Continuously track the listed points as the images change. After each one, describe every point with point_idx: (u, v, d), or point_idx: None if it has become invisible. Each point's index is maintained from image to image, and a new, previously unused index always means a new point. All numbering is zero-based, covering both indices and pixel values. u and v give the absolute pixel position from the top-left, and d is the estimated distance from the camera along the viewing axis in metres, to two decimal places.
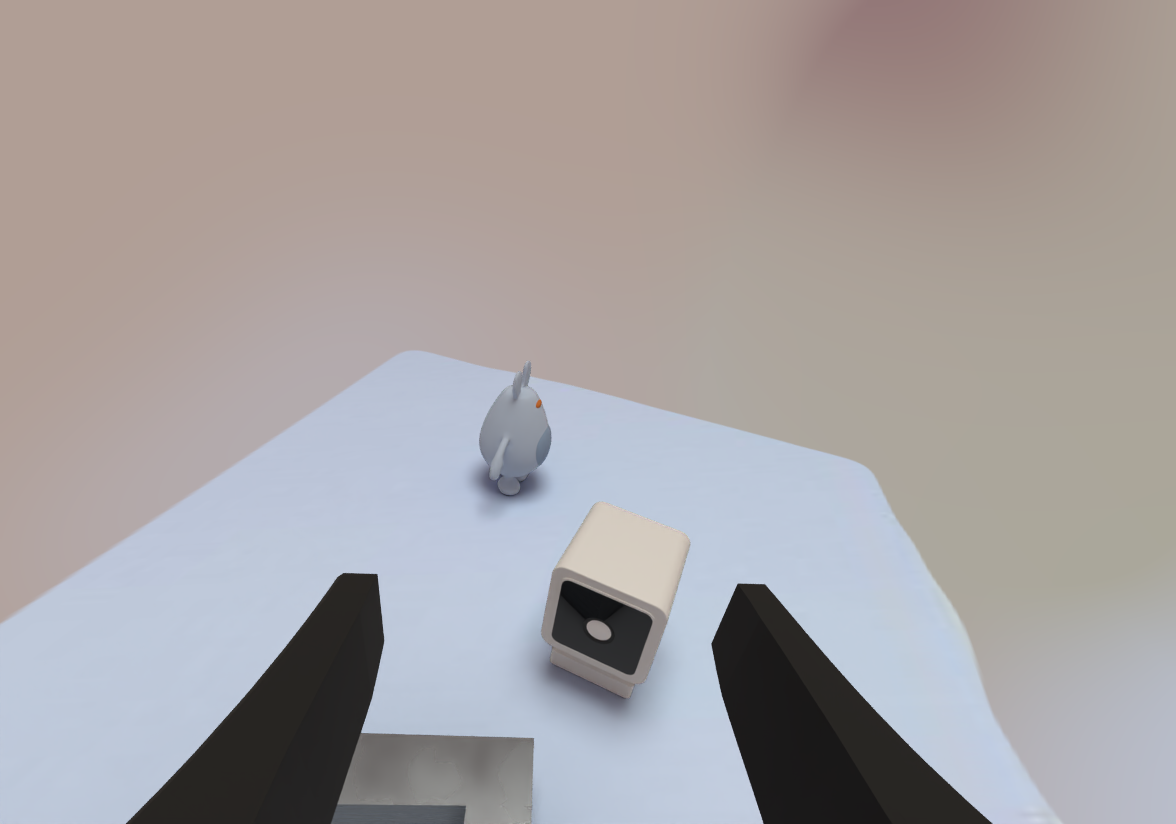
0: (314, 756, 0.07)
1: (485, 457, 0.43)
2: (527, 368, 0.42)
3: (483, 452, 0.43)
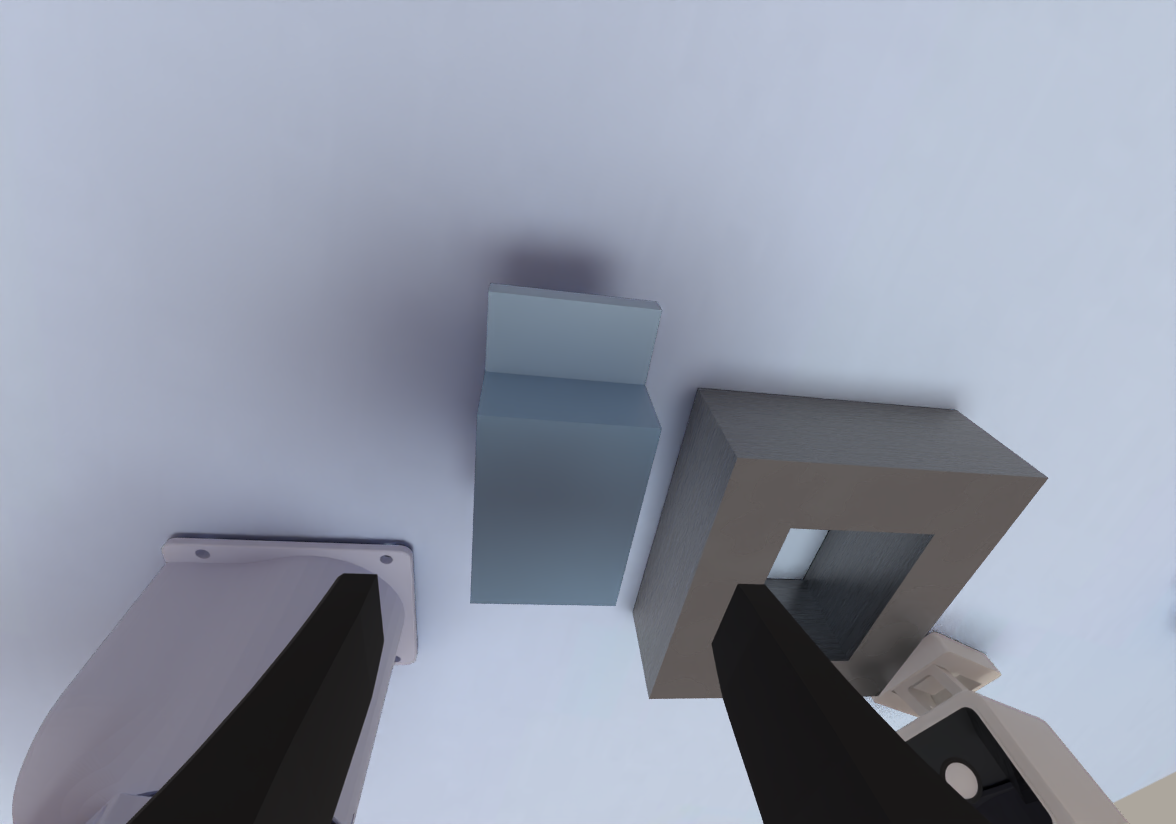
0: (314, 756, 0.07)
1: None
2: None
3: None
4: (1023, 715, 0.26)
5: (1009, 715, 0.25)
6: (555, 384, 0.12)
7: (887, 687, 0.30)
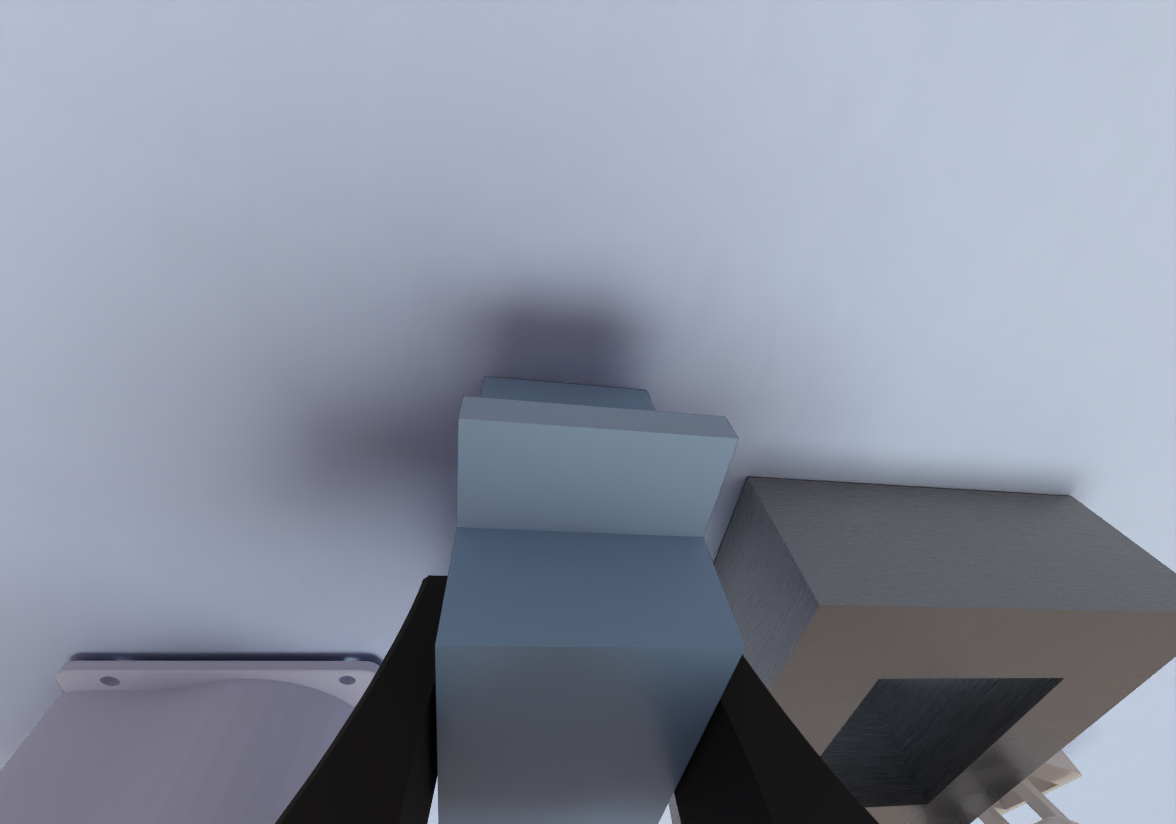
0: (425, 754, 0.07)
1: None
2: None
3: None
4: None
5: None
6: (567, 549, 0.08)
7: None
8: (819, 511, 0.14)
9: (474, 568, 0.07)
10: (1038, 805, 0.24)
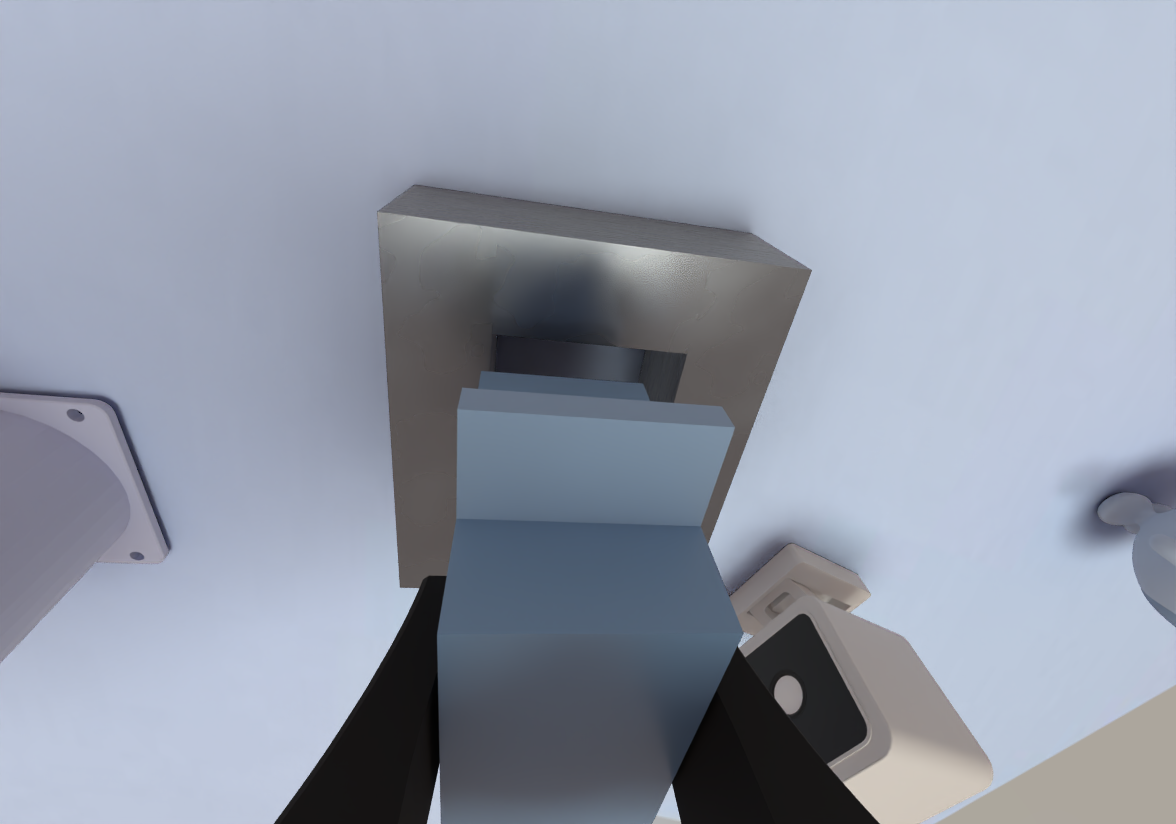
0: (425, 754, 0.07)
1: None
2: None
3: None
4: (873, 626, 0.22)
5: (850, 622, 0.21)
6: (566, 539, 0.08)
7: (742, 608, 0.26)
8: (461, 199, 0.14)
9: (474, 558, 0.07)
10: None
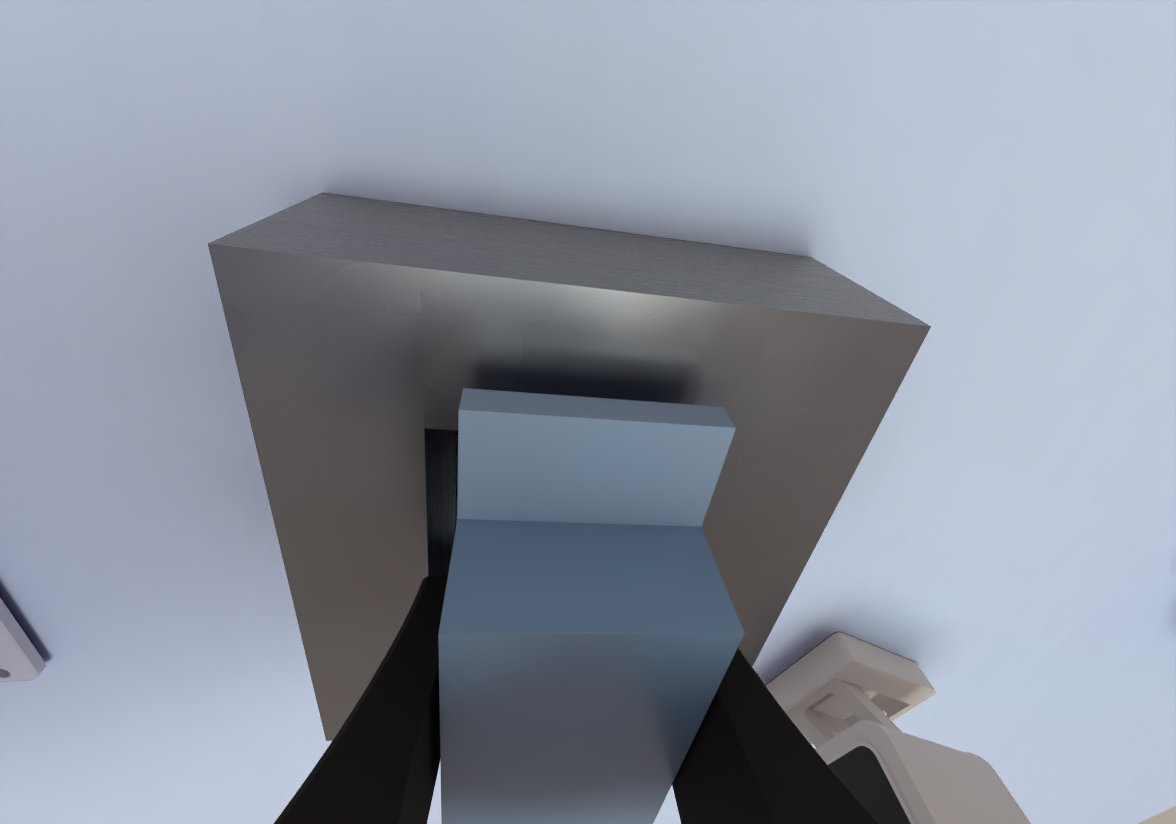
0: (425, 753, 0.07)
1: None
2: None
3: None
4: (953, 756, 0.17)
5: (927, 759, 0.16)
6: (567, 539, 0.08)
7: None
8: (384, 215, 0.10)
9: (475, 558, 0.07)
10: (871, 721, 0.20)
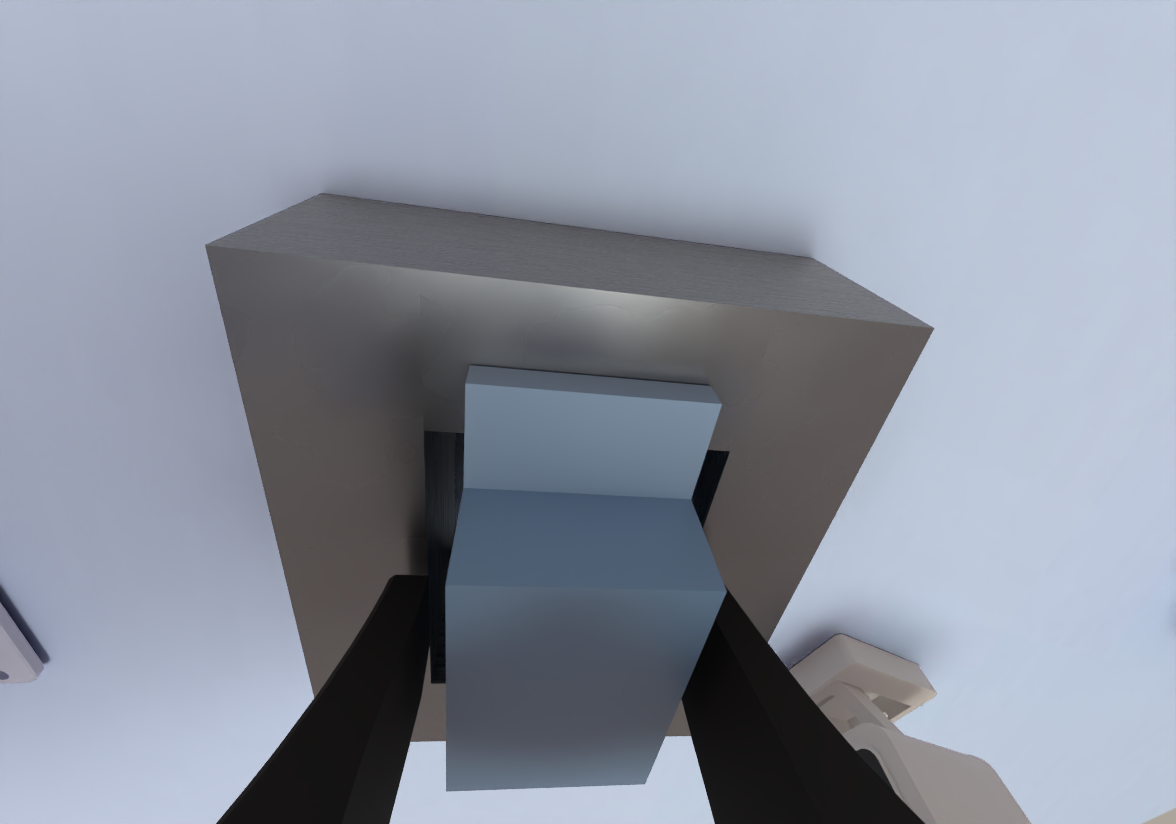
0: (382, 754, 0.07)
1: None
2: None
3: None
4: (954, 759, 0.17)
5: (929, 762, 0.16)
6: (565, 507, 0.08)
7: None
8: (383, 216, 0.09)
9: (480, 522, 0.08)
10: (872, 723, 0.20)
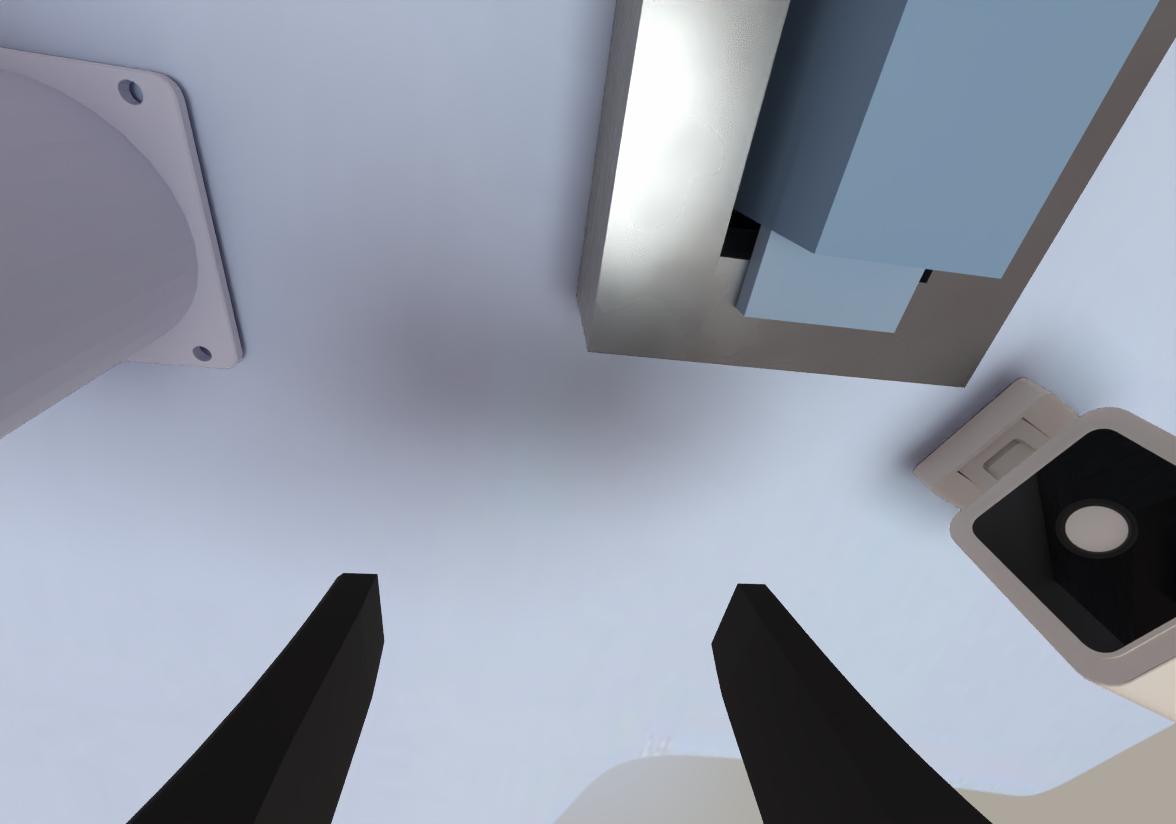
0: (314, 756, 0.07)
1: None
2: None
3: None
4: None
5: None
6: None
7: (952, 465, 0.21)
8: None
9: None
10: None
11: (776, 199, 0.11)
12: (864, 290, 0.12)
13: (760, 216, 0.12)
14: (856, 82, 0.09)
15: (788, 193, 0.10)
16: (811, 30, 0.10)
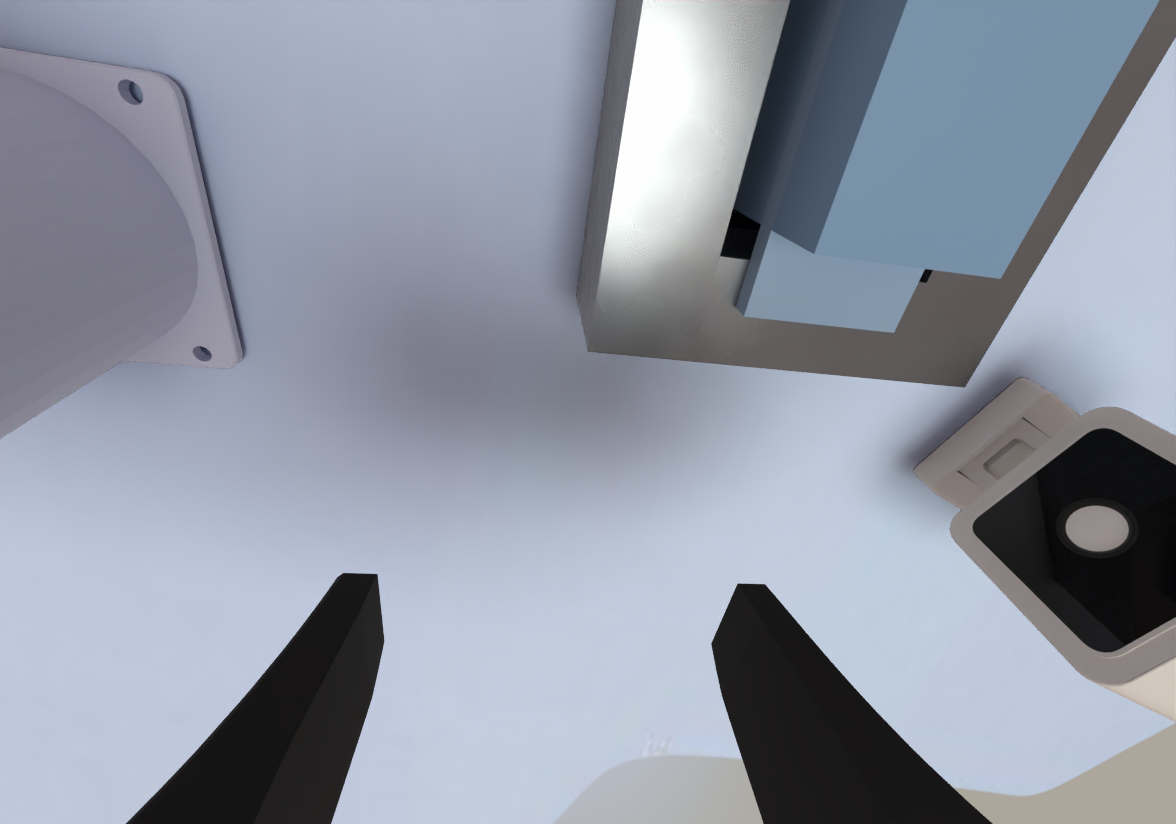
0: (314, 756, 0.07)
1: None
2: None
3: None
4: None
5: None
6: None
7: (952, 465, 0.21)
8: None
9: None
10: None
11: (776, 199, 0.11)
12: (864, 290, 0.12)
13: (760, 216, 0.12)
14: (856, 82, 0.09)
15: (788, 193, 0.10)
16: (811, 30, 0.10)
